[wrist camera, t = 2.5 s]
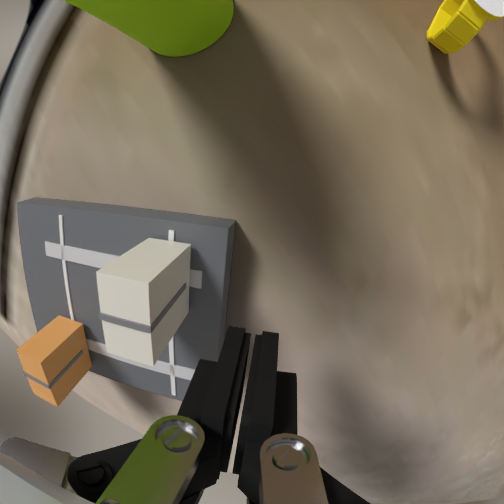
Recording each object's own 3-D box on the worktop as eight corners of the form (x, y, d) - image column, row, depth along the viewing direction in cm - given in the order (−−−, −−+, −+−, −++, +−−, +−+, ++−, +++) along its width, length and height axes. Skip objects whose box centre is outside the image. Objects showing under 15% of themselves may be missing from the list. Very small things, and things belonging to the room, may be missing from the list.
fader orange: (83, 323, 18) (40, 364, 13) (92, 366, 19) (57, 408, 15) (58, 314, 18) (15, 350, 14) (68, 356, 20) (32, 394, 15)
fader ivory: (192, 244, 15) (148, 284, 10) (189, 312, 16) (153, 368, 12) (148, 237, 15) (93, 272, 11) (149, 303, 17) (105, 353, 12)
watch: (443, 69, 13) (494, 50, 7) (407, 42, 12) (446, 9, 7) (470, 13, 10) (515, -14, 5) (437, -13, 10) (474, -50, 5)
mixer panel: (236, 220, 17) (228, 229, 15) (220, 390, 21) (214, 409, 19) (34, 197, 18) (16, 202, 16) (55, 339, 22) (42, 350, 20)
